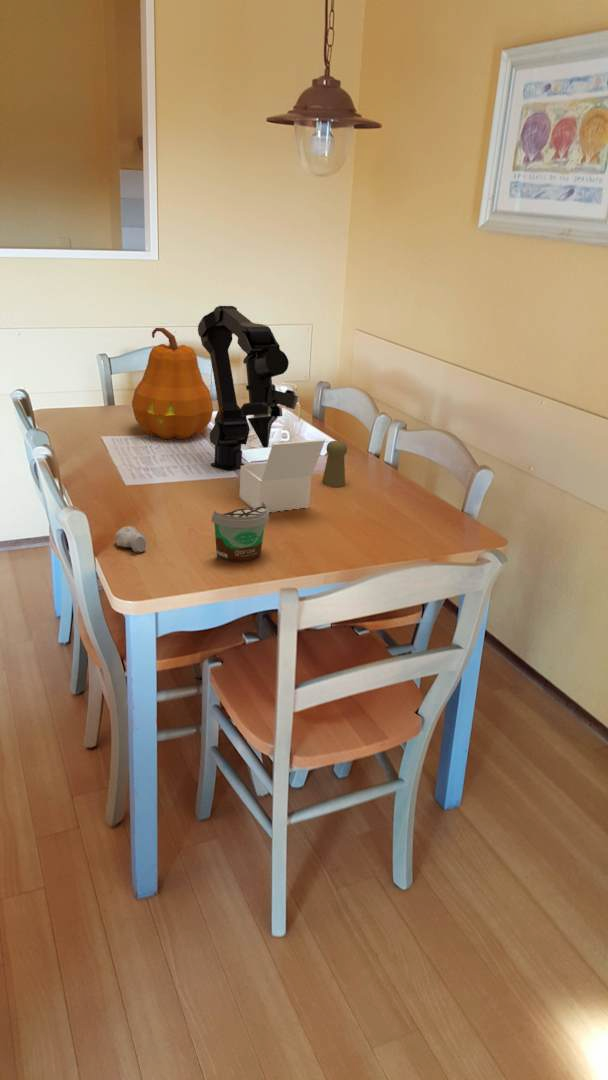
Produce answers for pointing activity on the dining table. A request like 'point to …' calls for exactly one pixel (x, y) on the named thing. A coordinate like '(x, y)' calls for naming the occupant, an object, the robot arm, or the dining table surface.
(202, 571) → the dining table surface
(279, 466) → the carton flap
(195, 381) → the decorative pumpkin
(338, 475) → the cork
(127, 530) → the grey rounded lumpy piece
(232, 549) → the food container
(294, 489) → the carton
